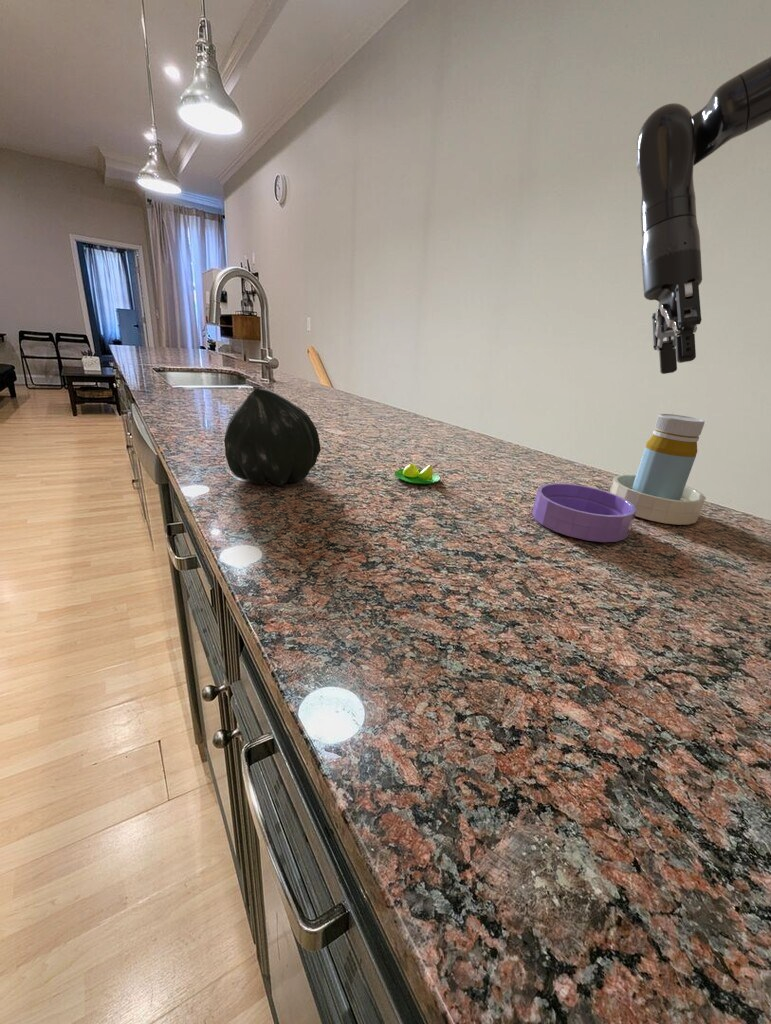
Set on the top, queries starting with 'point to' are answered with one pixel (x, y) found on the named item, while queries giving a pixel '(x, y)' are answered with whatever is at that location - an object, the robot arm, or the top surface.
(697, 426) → the bottle
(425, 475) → the plate of pears
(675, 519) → the cream bowl
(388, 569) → the top surface
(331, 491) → the top surface
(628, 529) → the lavender bowl
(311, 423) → the squash
